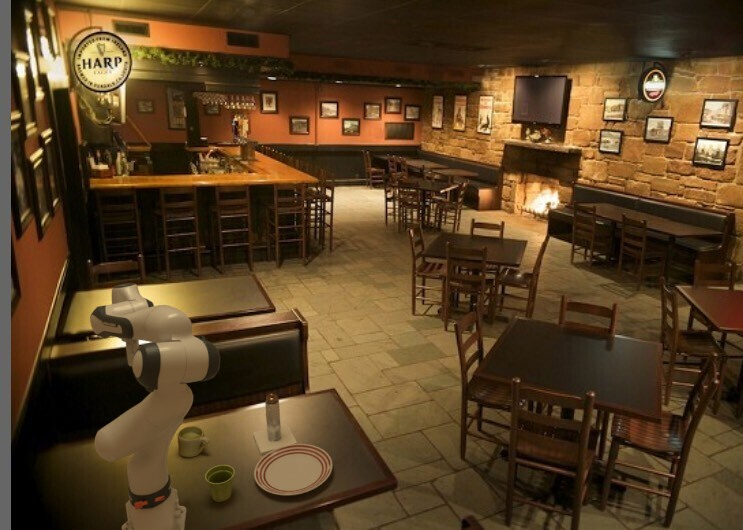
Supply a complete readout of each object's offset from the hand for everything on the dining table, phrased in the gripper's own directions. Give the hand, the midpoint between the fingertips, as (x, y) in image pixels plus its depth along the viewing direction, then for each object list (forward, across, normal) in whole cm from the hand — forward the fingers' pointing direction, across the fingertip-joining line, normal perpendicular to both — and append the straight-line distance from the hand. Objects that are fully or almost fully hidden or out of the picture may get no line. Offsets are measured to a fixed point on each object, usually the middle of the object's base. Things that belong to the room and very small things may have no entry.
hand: (135, 366), depth 176 cm
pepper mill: (+38, -7, -45) cm, 59 cm away
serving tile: (+39, -7, -45) cm, 60 cm away
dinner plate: (+40, -29, -46) cm, 67 cm away
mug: (+39, -1, -16) cm, 42 cm away
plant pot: (+39, -29, -21) cm, 53 cm away
